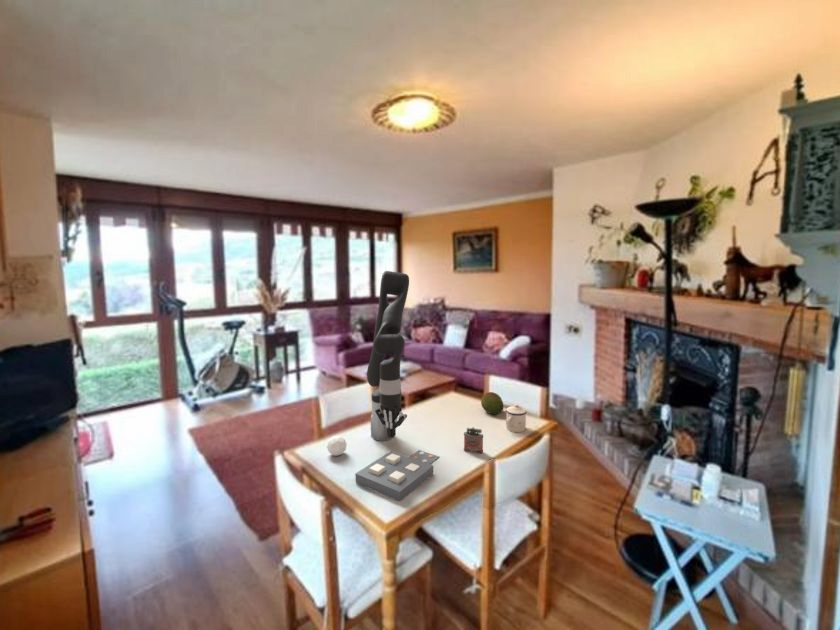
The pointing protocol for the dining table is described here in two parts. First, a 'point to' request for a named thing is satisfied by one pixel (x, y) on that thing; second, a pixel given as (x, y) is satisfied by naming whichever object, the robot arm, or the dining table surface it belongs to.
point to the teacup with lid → (516, 418)
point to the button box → (382, 481)
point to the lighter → (473, 441)
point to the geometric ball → (336, 445)
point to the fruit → (492, 403)
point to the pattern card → (424, 457)
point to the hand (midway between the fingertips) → (391, 437)
